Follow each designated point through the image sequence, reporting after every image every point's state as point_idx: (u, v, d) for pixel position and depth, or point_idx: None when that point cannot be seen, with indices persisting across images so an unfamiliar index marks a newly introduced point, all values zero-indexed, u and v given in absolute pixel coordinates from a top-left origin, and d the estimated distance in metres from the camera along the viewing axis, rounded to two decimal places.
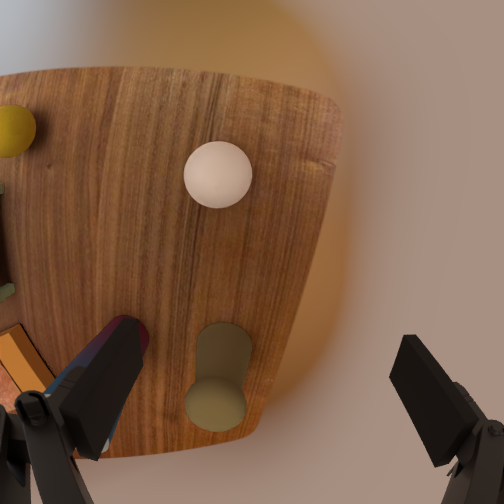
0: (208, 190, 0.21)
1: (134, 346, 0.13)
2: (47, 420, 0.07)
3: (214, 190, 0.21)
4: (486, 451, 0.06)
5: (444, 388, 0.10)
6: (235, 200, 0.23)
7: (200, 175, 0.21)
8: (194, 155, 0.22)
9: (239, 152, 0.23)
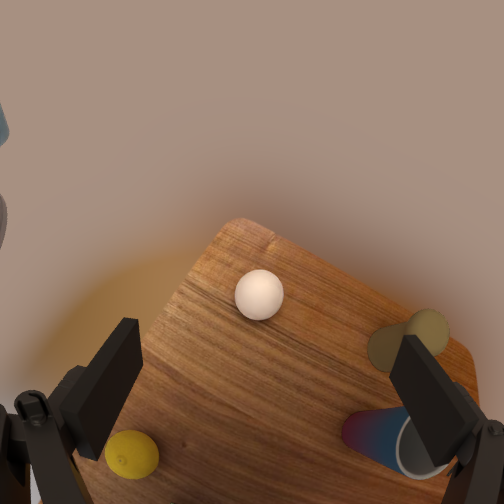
0: (270, 289, 0.31)
1: (134, 346, 0.13)
2: (47, 420, 0.07)
3: (271, 285, 0.31)
4: (486, 451, 0.06)
5: (444, 388, 0.10)
6: (281, 284, 0.34)
7: (258, 289, 0.31)
8: (242, 296, 0.32)
9: None
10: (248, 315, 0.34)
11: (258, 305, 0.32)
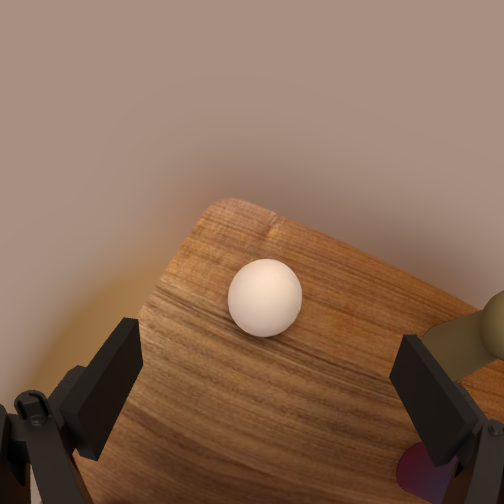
0: (283, 286, 0.19)
1: (134, 346, 0.13)
2: (47, 420, 0.07)
3: (284, 280, 0.20)
4: (486, 451, 0.06)
5: (444, 388, 0.10)
6: None
7: (264, 288, 0.19)
8: (239, 302, 0.20)
9: None
10: (251, 331, 0.21)
11: (266, 314, 0.20)
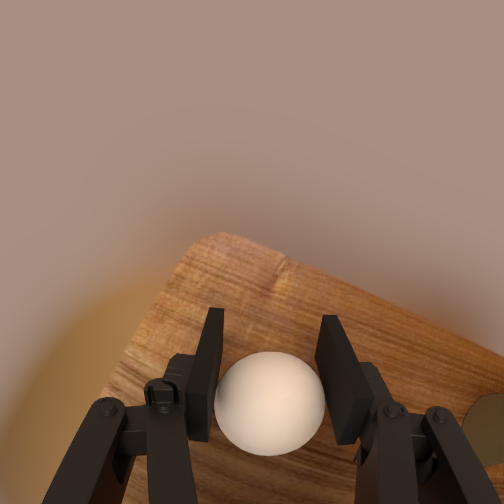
0: (300, 413, 0.11)
1: (222, 333, 0.15)
2: (175, 409, 0.09)
3: (303, 403, 0.11)
4: (388, 437, 0.08)
5: (344, 364, 0.12)
6: (319, 381, 0.13)
7: (270, 420, 0.10)
8: (229, 426, 0.12)
9: (244, 358, 0.14)
10: None
11: (272, 447, 0.11)
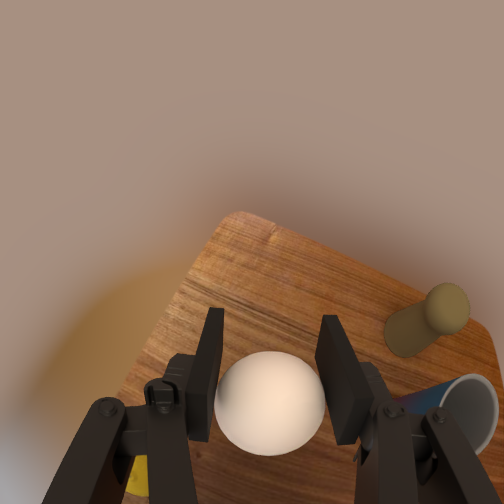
0: (300, 413, 0.11)
1: (222, 333, 0.15)
2: (175, 409, 0.09)
3: (303, 403, 0.11)
4: (388, 437, 0.08)
5: (344, 364, 0.12)
6: (320, 381, 0.13)
7: (270, 420, 0.10)
8: (229, 426, 0.12)
9: (245, 358, 0.14)
10: None
11: (272, 447, 0.11)
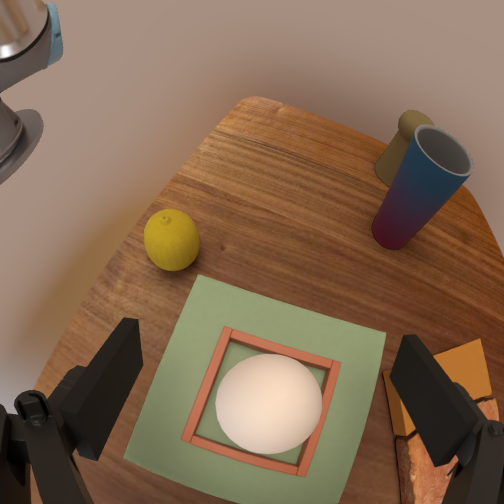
0: (297, 413, 0.11)
1: (134, 346, 0.13)
2: (47, 420, 0.07)
3: (300, 403, 0.11)
4: (486, 451, 0.06)
5: (444, 388, 0.10)
6: (317, 383, 0.14)
7: (269, 420, 0.11)
8: (230, 425, 0.12)
9: (245, 361, 0.14)
10: None
11: (270, 445, 0.12)
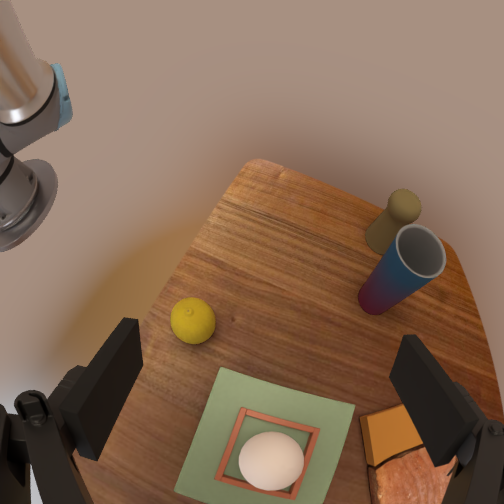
0: (287, 473, 0.18)
1: (134, 346, 0.13)
2: (47, 420, 0.07)
3: (289, 468, 0.18)
4: (486, 451, 0.06)
5: (444, 388, 0.10)
6: (300, 451, 0.21)
7: (272, 477, 0.18)
8: (249, 477, 0.19)
9: (257, 439, 0.21)
10: None
11: (272, 488, 0.18)
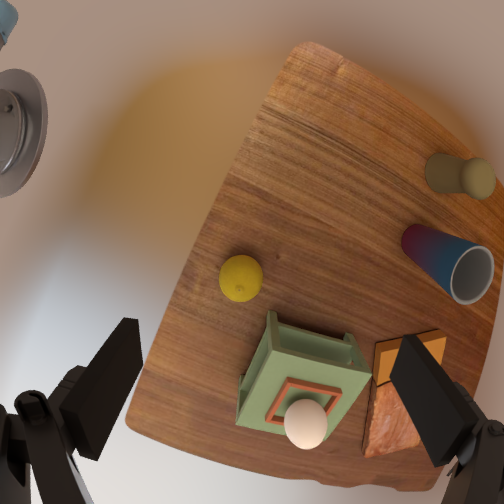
0: (315, 446, 0.31)
1: (134, 346, 0.13)
2: (47, 420, 0.07)
3: (317, 444, 0.31)
4: (486, 451, 0.06)
5: (444, 388, 0.10)
6: (326, 425, 0.32)
7: (305, 448, 0.31)
8: None
9: (298, 419, 0.32)
10: None
11: None
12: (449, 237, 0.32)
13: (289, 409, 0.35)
